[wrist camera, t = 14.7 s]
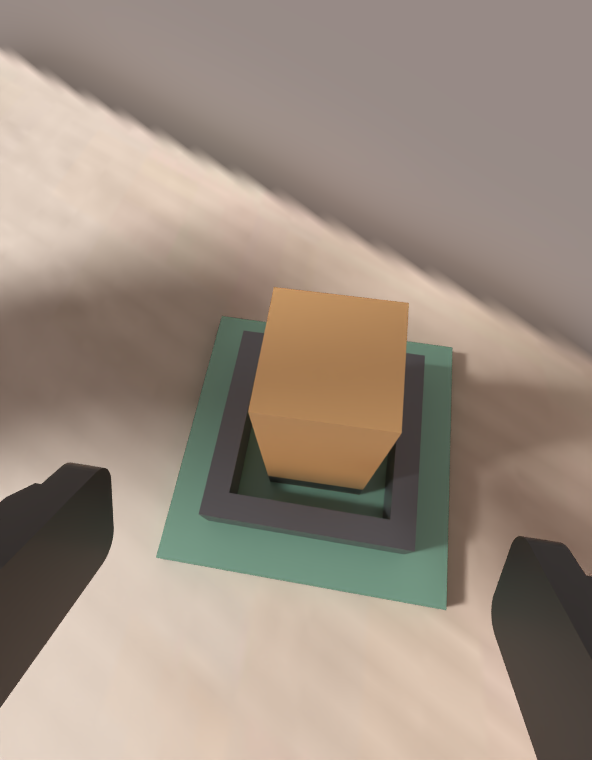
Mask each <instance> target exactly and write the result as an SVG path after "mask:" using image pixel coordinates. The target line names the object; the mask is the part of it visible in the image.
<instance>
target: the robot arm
mask: <svg viewBox="0 0 592 760" xmlns="http://www.w3.org/2000/svg"><path fill="white" fill-rule="evenodd" d="M113 532H114V526H113V507H112V488H111V475H110V472H109V471H108V469H106V468H101V467H95V466H89V465H83V464H76V463H66V464H64V465H63V466H62V467H60V468H59V469H58V470H57V471H56V472H55V473H54V474H52V475H51V476H50V477H49V478H48V479H47V480H46V481H44V482H43V483H42V484H37V483H35V484H33V485H31V486H28V487H26V488H24V489H22V490H20V491H18V492H16V493H14V494H12V495H10V496H8V497H6V498H5V499H3V500H2V501H1V502H0V707H1V706H2V705H3V703H4V702H5V700H6V699H7V698H8V696H9V695H10V693H11V692H12V690H13V689H14V688H15V686H16V685H17V683H18V682H19V681H20V679H21V678H22V676H23V675H24V674H25V672H26V671H27V669H28V668H29V667H30V665H31V664H32V662H33V661H34V660H35V658H36V657H37V655H38V654H39V652H40V651H41V650H42V648H43V647H44V645H45V644H46V643H47V641H48V640H49V638H50V637H51V636H52V634H53V633H54V631H55V630H56V629H57V627H58V626H59V624H60V623H61V622H62V620H63V619H64V617H65V616H66V614H67V613H68V612H69V610H70V609H71V607H72V606H73V605H74V603H75V602H76V600H77V599H78V598H79V596H80V595H81V593H82V592H83V591H84V589H85V588H86V586H87V585H88V584H89V582H90V581H91V579H92V578H93V576H94V575H95V574H96V572H97V571H98V569H99V568H100V567H101V565H102V564H103V562H104V561H105V559H106V557H107V555H108V553H109V550H110V547H111V544H112V540H113ZM491 615H492V625H493V630H494V634H495V637H496V640H497V643H498V646H499V648H500V651H501V654H502V657H503V660H504V663H505V666H506V669H507V672H508V675H509V678H510V681H511V684H512V687H513V689H514V692H515V695H516V698H517V701H518V704H519V707H520V710H521V713H522V716H523V719H524V722H525V725H526V728H527V730H528V733H529V736H530V739H531V742H532V745H533V748H534V751H535V754H536V757H537V760H592V577H591V576H586V575H585V573H584V572H583V570H582V569H581V567H580V566H579V564H578V563H577V561H576V559H575V558H574V556H573V555H572V553H571V552H570V550H569V549H568V548H567V546H566V545H564V544H563V543H559V542H553V541H547V540H541V539H535V538H529V537H522V536H519V537H517V538H515V540H514V541H513V543H512V545H511V548H510V550H509V553H508V556H507V559H506V562H505V565H504V567H503V570H502V573H501V576H500V579H499V581H498V584H497V587H496V590H495V593H494V596H493V600H492V609H491Z"/></svg>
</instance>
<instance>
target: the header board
mask: <svg viewBox="0 0 592 760" xmlns="http://www.w3.org/2000/svg"><path fill="white" fill-rule="evenodd" d="M266 323H267V322H262V321H254V320H247V319H240V318H232V317H225V316H222V318H221V321H220V325H219V329H218V332H217V336H216V340H215V343H214V347H213V351H212V354H211V358H210V362H209V365H208V369H207V373H206V376H205V380H204V384H203V387H202V391H201V395H200V398H199V402H198V406H197V409H196V413H195V417H194V420H193V424H192V427H191V431H190V435H189V438H188V442H187V446H186V449H185V453H184V457H183V460H182V464H181V468H180V471H179V475H178V479H177V482H176V486H175V490H174V493H173V497H172V501H171V504H170V508H169V512H168V515H167V519H166V523H165V526H164V530H163V534H162V537H161V541H160V545H159V548H158V552H157V556H156V558H161V559H167V560H172V561H178V562H183V563H189V564H194V565H200V566H205V567H211V568H216V569H222V570H227V571H233V572H239V573H244V574H250V575H255V576H261V577H266V578H272V579H277V580H283V581H288V582H294V583H299V584H305V585H310V586H316V587H321V588H327V589H332V590H338V591H343V592H349V593H355V594H360V595H366V596H371V597H377V598H382V599H388V600H393V601H399V602H404V603H410V604H415V605H421V606H426V607H432V608H437V609H443V610H446V603H447V560H448V517H449V474H450V431H451V388H452V347H445V346H438V345H430V344H423V343H416V342H408V341H407V344H406V363H405V381H404V399H403V417H402V433H401V435H400V436H399V438H398V439H397V441H396V442H395V444H394V445H393V447H392V448H391V449H390V451H389V452H388V454H387V455H386V457H385V458H384V460H383V461H382V463H381V464H380V466H379V467H378V468H377V470H376V471H375V473H374V474H373V476H372V477H371V479H370V480H369V482H368V483H367V485H366V486H365V488H364V489H363V490H362V492H361V493H360V495H357V494H350V493H343V492H337V491H330V490H323V489H317V488H310V487H303V486H297V485H290V484H283V483H277V482H270V480H269V477H268V474H267V470H266V467H265V464H264V461H263V458H262V455H261V451H260V448H259V445H258V442H257V439H256V435H255V432H254V429H253V426H252V423H251V420H250V416H249V413H248V410H249V405H250V400H251V395H252V391H253V386H254V381H255V376H256V371H257V366H258V361H259V357H260V352H261V347H262V342H263V337H264V332H265V327H266Z"/></svg>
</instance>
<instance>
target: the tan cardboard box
mask: <svg viewBox="0 0 592 760" xmlns="http://www.w3.org/2000/svg"><path fill="white" fill-rule="evenodd" d="M408 308H409V303H404V302H396V301H387V300H379V299H370V298H362V297H354V296H345V295H337V294H328V293H320V292H311V291H303V290H294V289H286V288H277V287H274V289H273V294H272V298H271V303H270V308H269V313H268V318H267V323H266V327H265V332H264V337H263V342H262V347H261V352H260V357H259V361H258V366H257V371H256V376H255V381H254V386H253V391H252V395H251V400H250V405H249V410H248V413H249V416H250V420H251V423H252V426H253V429H254V432H255V435H256V439H257V442H258V445H259V448H260V451H261V455H262V458H263V461H264V464H265V467H266V470H267V474H268V477H269V480H270V482H277V483H283V484H290V485H297V486H303V487H310V488H317V489H323V490H330V491H337V492H343V493H350V494H357V495H360V493H361V492H362V490H363V489H364V488H365V486H366V485H367V483H368V482H369V480H370V479H371V477H372V476H373V474H374V473H375V471H376V470H377V468H378V467H379V466H380V464H381V463H382V461H383V460H384V458H385V457H386V455H387V454H388V452H389V451H390V449H391V448H392V447H393V445H394V444H395V442H396V441H397V439H398V438H399V436H400V435H401V433H402V417H403V399H404V381H405V363H406V344H407V326H408Z"/></svg>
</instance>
